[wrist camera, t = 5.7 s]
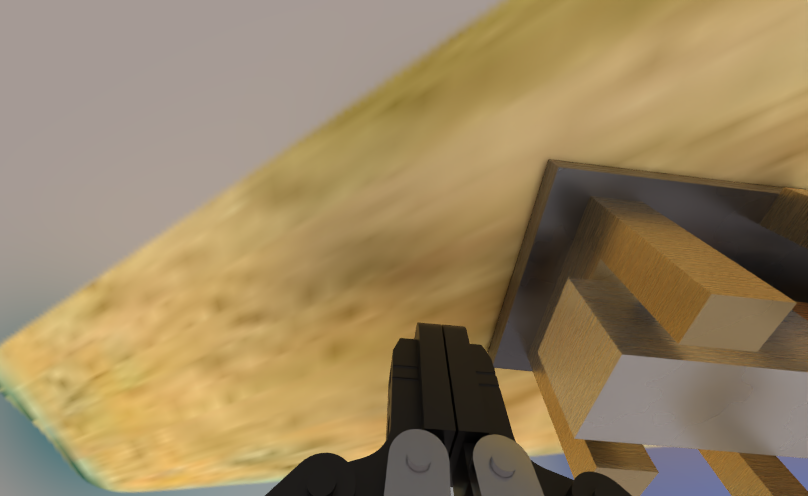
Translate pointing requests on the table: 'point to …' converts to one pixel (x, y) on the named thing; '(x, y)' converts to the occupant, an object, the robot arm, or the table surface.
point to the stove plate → (667, 194)
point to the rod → (673, 378)
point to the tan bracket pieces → (656, 309)
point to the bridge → (755, 473)
